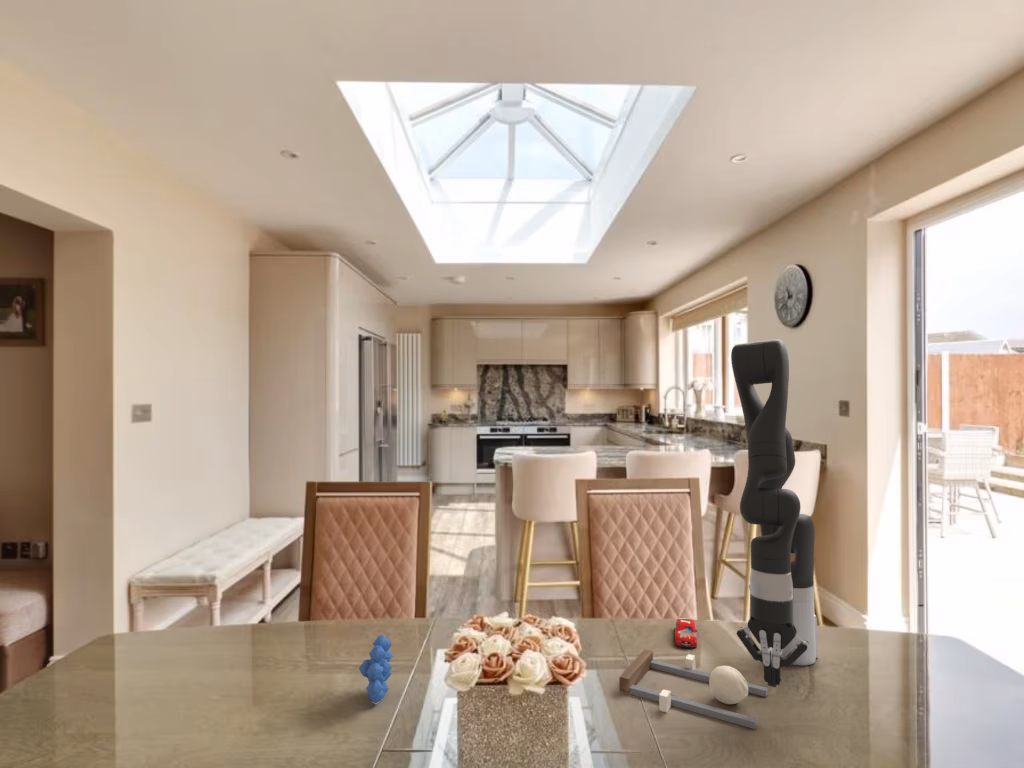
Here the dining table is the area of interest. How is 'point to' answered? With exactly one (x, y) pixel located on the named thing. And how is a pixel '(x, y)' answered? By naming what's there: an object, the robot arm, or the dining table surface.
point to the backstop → (635, 671)
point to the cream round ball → (728, 685)
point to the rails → (697, 706)
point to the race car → (685, 633)
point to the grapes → (377, 668)
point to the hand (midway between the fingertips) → (772, 685)
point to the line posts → (666, 695)
